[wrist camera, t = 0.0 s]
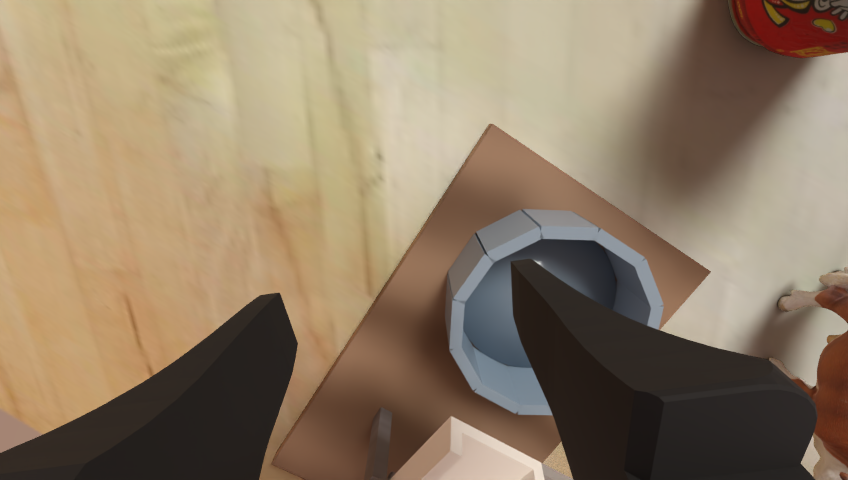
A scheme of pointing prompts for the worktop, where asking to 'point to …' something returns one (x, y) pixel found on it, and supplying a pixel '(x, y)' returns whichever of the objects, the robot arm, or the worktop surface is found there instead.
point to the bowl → (492, 295)
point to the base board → (427, 335)
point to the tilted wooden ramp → (471, 458)
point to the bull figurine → (827, 378)
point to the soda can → (793, 25)
